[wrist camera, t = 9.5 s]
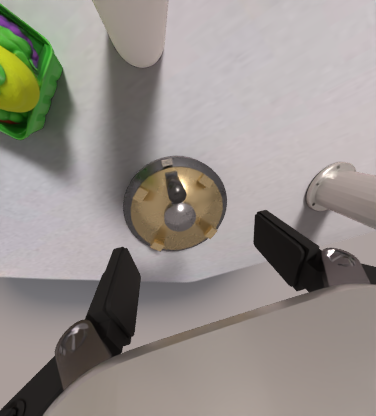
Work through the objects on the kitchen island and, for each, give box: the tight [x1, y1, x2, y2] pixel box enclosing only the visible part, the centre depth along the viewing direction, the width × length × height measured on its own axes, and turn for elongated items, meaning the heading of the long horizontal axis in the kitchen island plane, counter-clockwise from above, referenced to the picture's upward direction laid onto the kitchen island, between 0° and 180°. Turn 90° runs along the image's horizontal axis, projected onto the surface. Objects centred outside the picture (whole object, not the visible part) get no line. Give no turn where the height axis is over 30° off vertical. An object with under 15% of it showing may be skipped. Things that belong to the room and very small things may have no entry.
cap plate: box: [123, 156, 227, 251], centre depth 30 cm, size 21×21×3 cm
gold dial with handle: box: [131, 166, 223, 251], centre depth 26 cm, size 18×18×8 cm
